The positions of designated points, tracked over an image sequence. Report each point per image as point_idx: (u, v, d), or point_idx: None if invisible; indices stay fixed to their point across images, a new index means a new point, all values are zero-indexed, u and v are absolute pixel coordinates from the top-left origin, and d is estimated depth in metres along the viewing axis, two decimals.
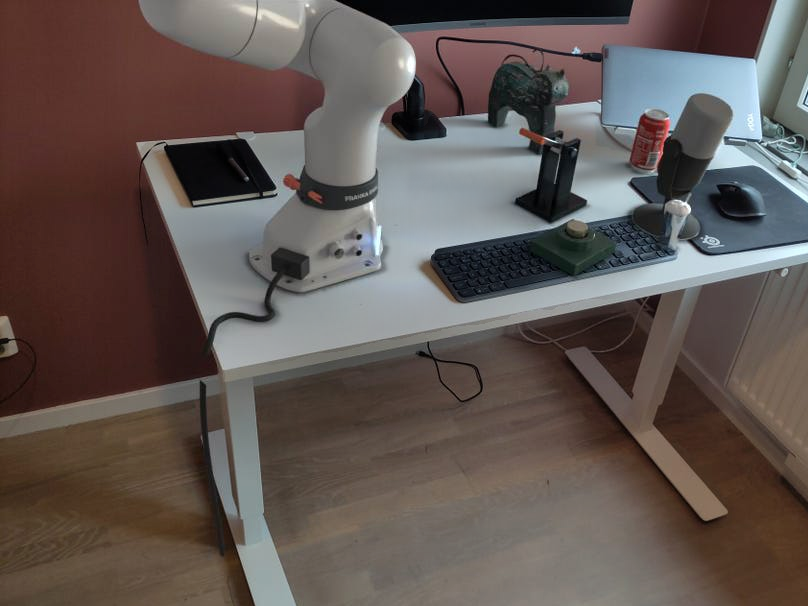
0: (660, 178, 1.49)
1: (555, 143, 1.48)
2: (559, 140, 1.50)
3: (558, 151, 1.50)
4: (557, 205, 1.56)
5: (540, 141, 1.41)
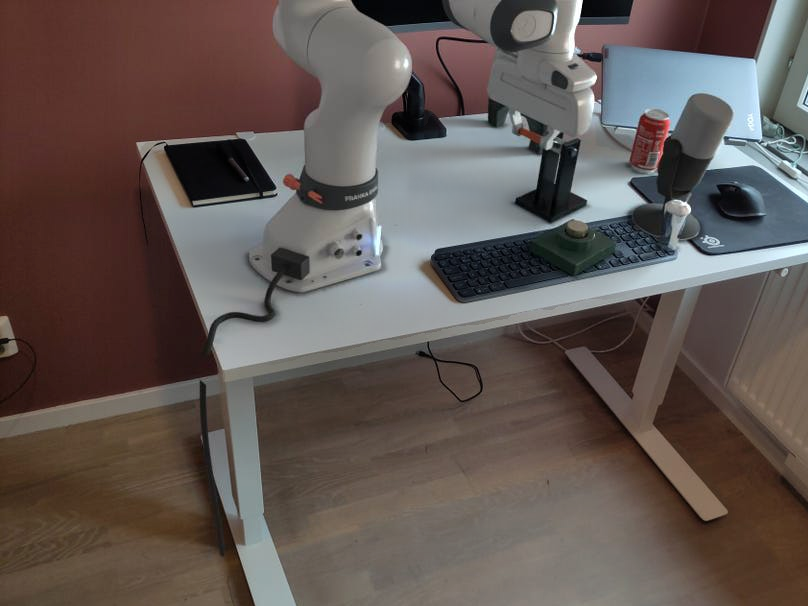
0: (660, 178, 1.49)
1: (555, 143, 1.48)
2: (559, 140, 1.50)
3: (558, 151, 1.50)
4: (557, 205, 1.56)
5: None
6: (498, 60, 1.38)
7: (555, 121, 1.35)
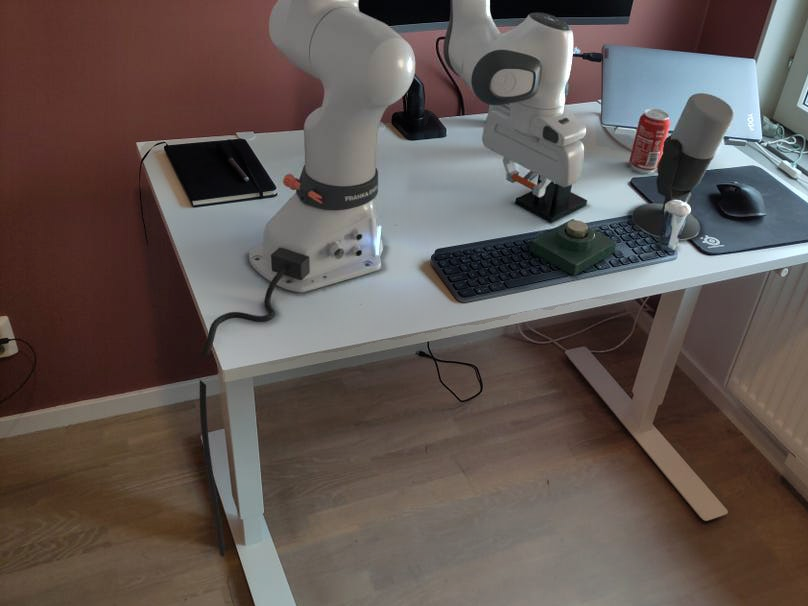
0: (660, 178, 1.49)
1: None
2: None
3: None
4: (557, 205, 1.56)
5: (532, 189, 1.47)
6: (492, 112, 1.44)
7: (547, 171, 1.41)
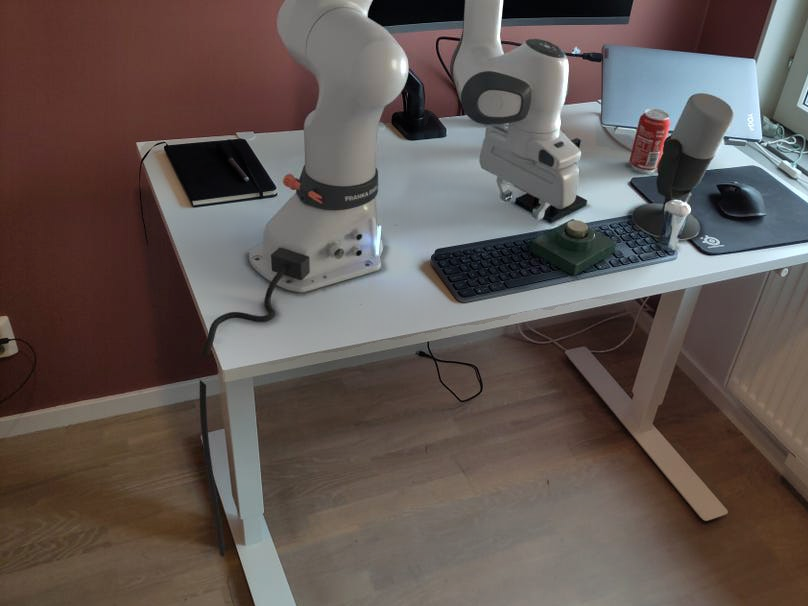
0: (660, 178, 1.49)
1: None
2: None
3: None
4: None
5: (534, 196, 1.48)
6: (489, 135, 1.47)
7: (543, 193, 1.44)
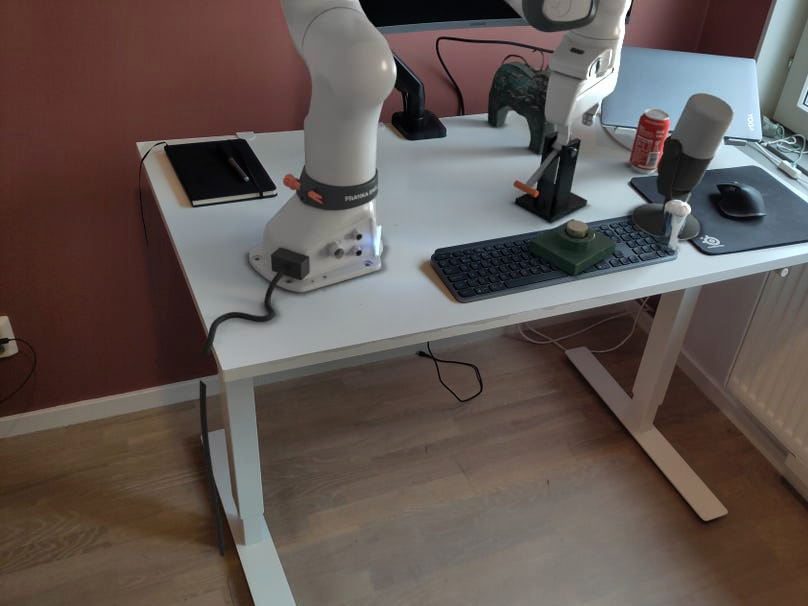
0: (660, 178, 1.49)
1: (552, 160, 1.50)
2: (555, 148, 1.50)
3: None
4: (557, 205, 1.56)
5: (534, 196, 1.48)
6: None
7: None
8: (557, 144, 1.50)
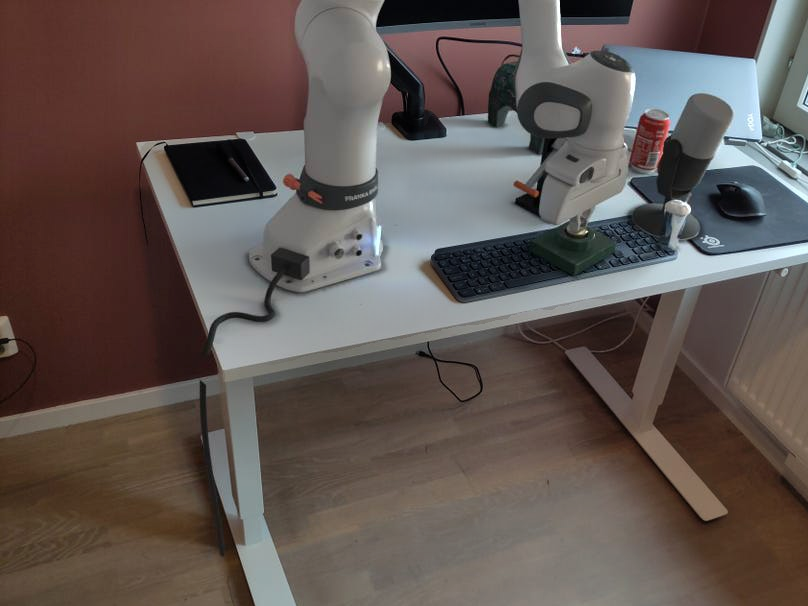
0: (660, 178, 1.49)
1: None
2: (555, 148, 1.50)
3: None
4: None
5: (534, 196, 1.48)
6: None
7: None
8: (557, 144, 1.50)
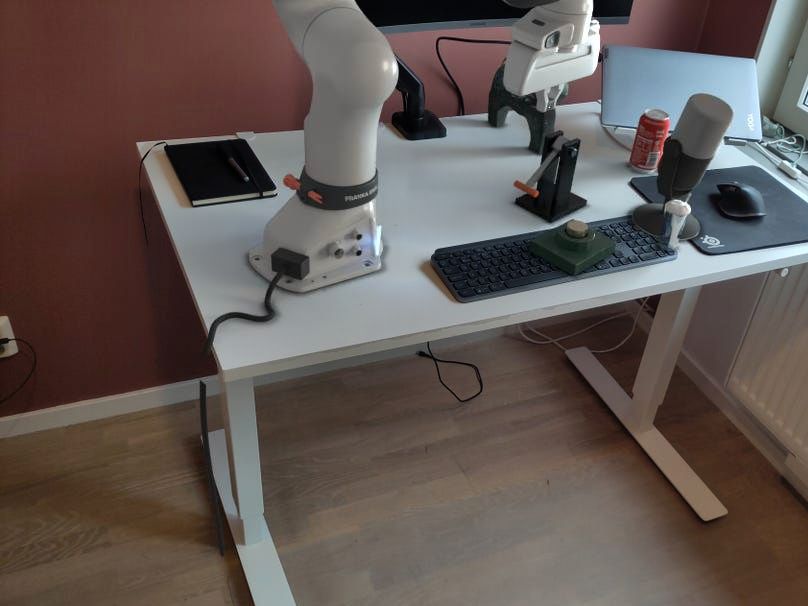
0: (660, 178, 1.49)
1: (552, 160, 1.50)
2: (555, 148, 1.50)
3: None
4: (557, 205, 1.56)
5: (534, 196, 1.48)
6: None
7: None
8: (557, 144, 1.50)
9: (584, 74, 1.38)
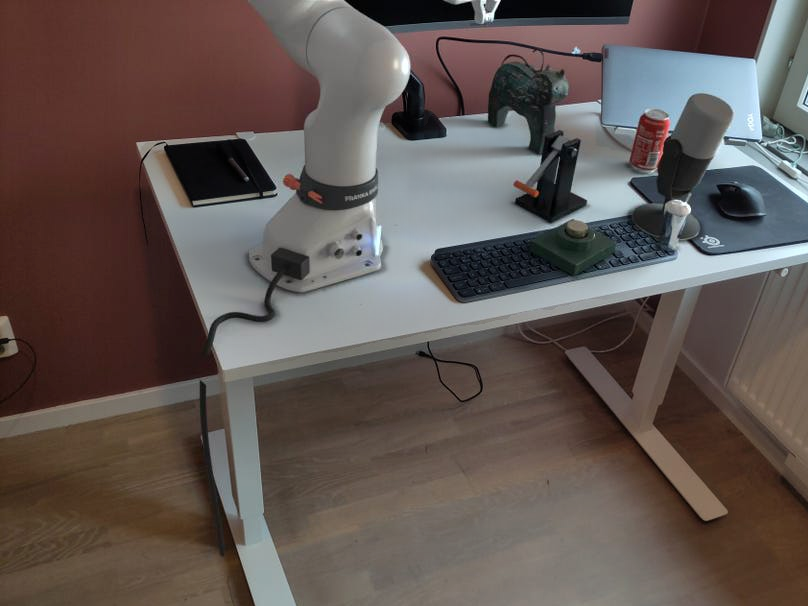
0: (660, 178, 1.49)
1: (552, 160, 1.50)
2: (555, 148, 1.50)
3: None
4: (557, 205, 1.56)
5: (534, 196, 1.48)
6: None
7: None
8: (557, 144, 1.50)
9: None
